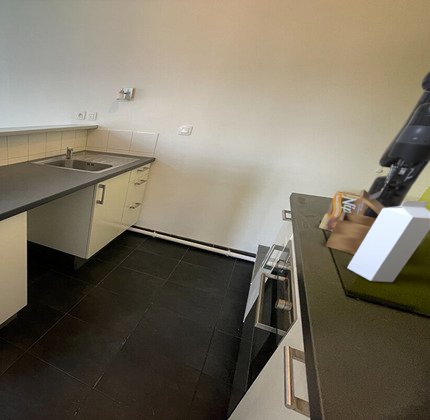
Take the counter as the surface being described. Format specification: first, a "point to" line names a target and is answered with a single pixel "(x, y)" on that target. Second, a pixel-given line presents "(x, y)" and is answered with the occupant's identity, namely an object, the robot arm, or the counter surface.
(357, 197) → the candy box
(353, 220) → the bread box
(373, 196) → the lid
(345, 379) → the counter surface
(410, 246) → the milk
